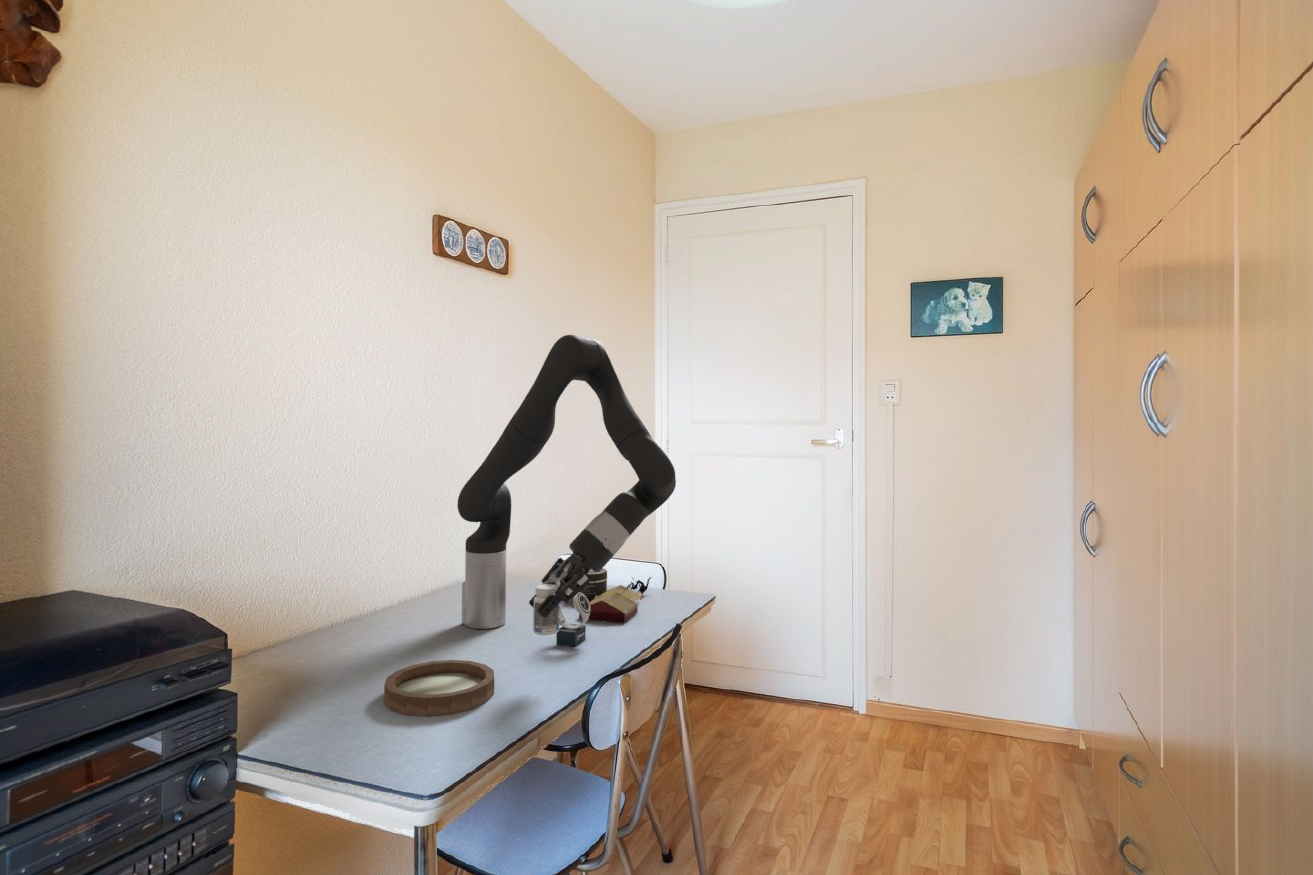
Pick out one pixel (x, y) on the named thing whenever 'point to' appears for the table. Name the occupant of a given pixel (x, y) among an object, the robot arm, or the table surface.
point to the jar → (595, 584)
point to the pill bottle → (552, 620)
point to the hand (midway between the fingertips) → (536, 610)
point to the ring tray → (439, 687)
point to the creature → (642, 587)
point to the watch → (574, 632)
